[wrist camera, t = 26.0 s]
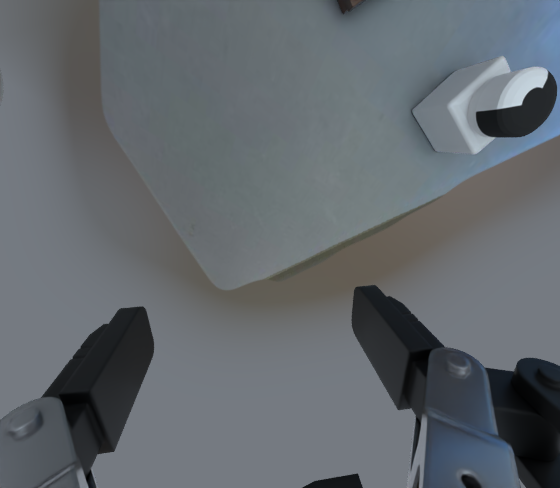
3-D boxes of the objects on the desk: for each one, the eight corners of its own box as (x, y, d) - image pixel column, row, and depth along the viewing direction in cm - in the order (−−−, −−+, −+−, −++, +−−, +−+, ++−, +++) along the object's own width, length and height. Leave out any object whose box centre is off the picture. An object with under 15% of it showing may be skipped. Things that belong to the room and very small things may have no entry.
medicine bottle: (478, 115, 37) (579, 106, 26) (435, 153, 38) (514, 159, 27) (455, 69, 34) (556, 37, 23) (409, 110, 36) (486, 98, 24)
